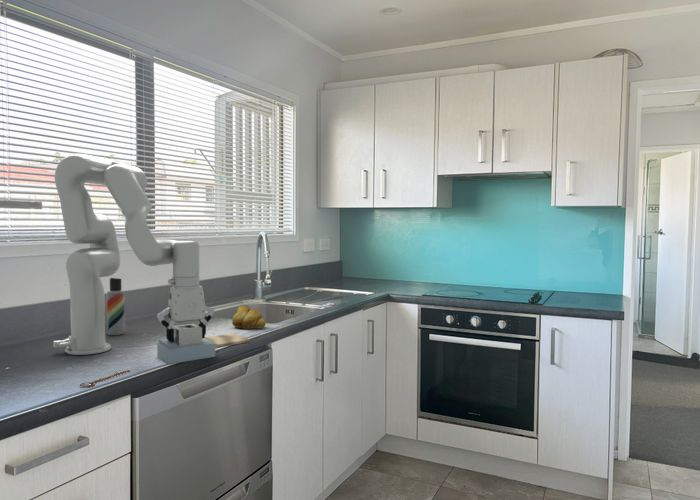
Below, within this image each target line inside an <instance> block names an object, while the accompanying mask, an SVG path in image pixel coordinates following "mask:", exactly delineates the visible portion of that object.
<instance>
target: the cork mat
mask: <svg viewBox="0 0 700 500" xmlns="http://www.w3.org/2000/svg"><path fill="white" fill-rule="evenodd" d="M205 339H207V340H209V341H211V342H213V343H215V348H220V347H226V346H233V345H241V344H246V343H247V344H248V343H250V342H251V340H250V339H249V338H246V337H244V336H242V335H239V334H236V333H228V334H227V333H226V334H221V335H212V336H205Z"/></svg>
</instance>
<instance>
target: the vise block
mask: <svg viewBox="0 0 700 500" xmlns="http://www.w3.org/2000/svg"><path fill="white" fill-rule="evenodd" d="M183 329H185V328H183ZM156 348H157V350H156V354H157V355H156V356H157V357H156V358H159V359H160V360H162V361H163V362H165V363H166V364H169V365H172V364H176V363H177V364H178V363H183V362H190V361H197V360H203V359H209V358H215V357H216V347H215V343H213V342H211V341H209V340H207V339H205V338H202V344H200V345H192V346H185V347H178V344H176V343H174V342H172V343H171V342H169V341H168V339H167V338H160V339H158V343H156Z"/></svg>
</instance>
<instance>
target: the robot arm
mask: <svg viewBox="0 0 700 500" xmlns="http://www.w3.org/2000/svg"><path fill="white" fill-rule="evenodd" d="M85 184H93V185H101V186H105V187H106V188H107V190H108V191H109V193H110V195H111V197H112V198H113V199H114V201H115V203H116V205H117V207H118V208H119V210H120V212H121V214H122V215H123V218H124V229H125V230H124V231H125V236H126V240H127V242H128V244H129V245H130V248H131V250H132V251H133V252H134V254H135V256H136V257H137V259H138V260H139V261H140V262H141V263H143V265H146V266H148V267H149V266H150V267H156V266H163V265H170V264H172V276H171V278H169V279H168V280H167V284H169V285H172V286H171V287H170V290H169V295H168V303H167V307H166V308H164V309H163V310H162V311H160V312H158V313H157V314H156V317H157V320H159V322H160V324H161V325H162V326H164V328H166V331H165V332H166V335H165V336H166V338H167V339H168V341H169V342H171V343H172V342H174V329H172V327H173V326H175V324H176V323H183V322H192V321H198V322H199V323H198V326H200V327H202V338H205V337H206V334H207V325H208V323H209V322H210V320H211V319H212V317H213V315H214V313H215V309H214V308H212V307H209V306H208V305H206V300H205V294H204V288H203V286H202V285H200V245H199V244H200V243H199V242H198V241H196V240H176V239H170V238H167V239H165V238H163V239H156V238H155V237H154V235H153V233H152V232H151V230H150V228H149V226H148V223H147V222H148V221H147V216H148V214H149V213H150V212H151V210H152V208H153V206H152V203H151V201H150V200H149V198H148V197H147V194H146V193H145V190H146V187H147V185H148V178H147V176H146V174H145V172H144V171H143V170H142V169H141V168H139V167H137V166H133V165H129V164H125V163H123V162H119V161H116V160H112V159H110V158H105V157H100V156H94V155H90V154H84V153H74V154H68V155H66V156H65V157H63V158H62V159H61V160H60V162H59V163H58V164H57V166H56V167H55V171H54V185H55V187H56V190H57V195H58V198H59V202H60V208H61V209H60V210H61V213H62V221H63V224H64V225H63V226H64V231H65V235H66V238H67V240H68V241H69V242H71V243H72V244H75V245H89V247H86V248H80V249H77V250H75V251H73V252H71V253H70V255H68V257H67V259H66V261H65V269H66V274H67V278H68V284H69V299H70V300H69V301H70V302H69V303H70V306H69V307H70V335H68V338H65V339H63V340H53V343H52V344H53V348H65V349H64V350H65V353H66V354H68V355H74V356H86V355H95V354H101V353H105V352H107V351H109V350H111V348H112V346H111V343H108V342H106V298H105V294H106V293H105V289H104V285H103V283H102V280H101V278H106V277H109V276H112V275H114V274H115V273H117V272H118V271H119V269H120V264H121V255H120V251H119V250H120V249H119V244H118V239H117V238H118V237H117V232H116V228H115V225H114V223H113V221H112V220H111V219H110V218H109V217H108V216H106V215H105V214H101V213H94V207H93V203H92V199H91V196H90V194H89V192H88V190H87V188H86V187H85ZM206 312H207V314H206ZM166 315H167V318H168V320H166V319H165V318H164V317H165V316H166ZM166 338H165V339H166Z"/></svg>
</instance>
